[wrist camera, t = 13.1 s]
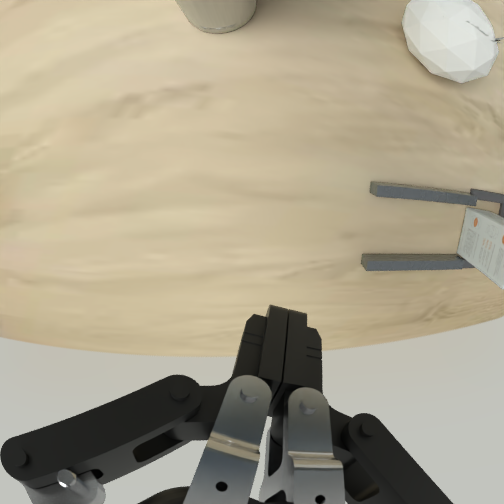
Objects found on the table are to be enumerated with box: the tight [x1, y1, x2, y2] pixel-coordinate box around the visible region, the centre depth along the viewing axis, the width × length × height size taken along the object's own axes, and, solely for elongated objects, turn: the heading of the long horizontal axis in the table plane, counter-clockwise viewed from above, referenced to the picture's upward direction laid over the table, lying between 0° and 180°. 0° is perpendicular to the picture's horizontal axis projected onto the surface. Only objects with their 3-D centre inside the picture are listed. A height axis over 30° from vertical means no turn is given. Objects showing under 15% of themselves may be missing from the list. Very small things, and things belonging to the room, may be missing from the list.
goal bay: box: [462, 189, 504, 268], centre depth 39 cm, size 14×10×1 cm
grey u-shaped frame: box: [361, 182, 477, 271], centre depth 38 cm, size 12×18×2 cm, turn 90°
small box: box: [457, 207, 504, 289], centre depth 33 cm, size 8×6×13 cm
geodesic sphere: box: [401, 0, 504, 83], centre depth 22 cm, size 14×14×14 cm
